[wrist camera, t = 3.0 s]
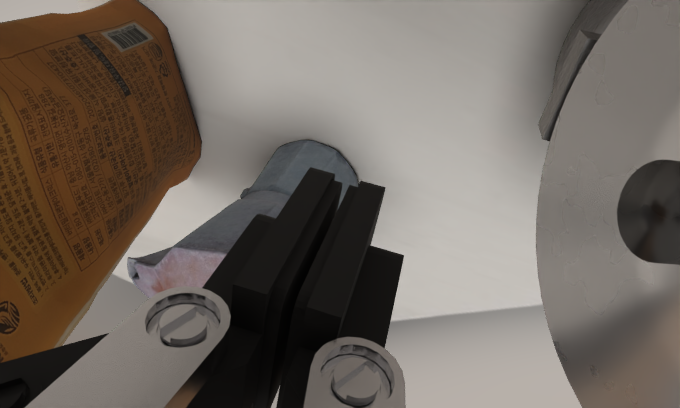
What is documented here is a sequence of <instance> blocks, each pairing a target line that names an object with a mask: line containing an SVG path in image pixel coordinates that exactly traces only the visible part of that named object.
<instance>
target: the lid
mask: <svg viewBox="0 0 680 408" xmlns="http://www.w3.org/2000/svg"><path fill="white" fill-rule="evenodd" d="M536 254H537V267H538V277H539V284H540V290H541V297H542V302H543V306H544V311H545V315H546V319H547V323H548V327H549V330H550V333H551V336H552V340H553V343H554V346H555V349H556V352H557V354H558V357H559V359H560V362H561V364H562V367H563V369H564V371H565V374H566V376H567V379H568V381H569V383H570V385H571V386H572V389H573V390H574V392H575V394H576V396H577V398H578V400H579V402H580V404H581V406H582V408H680V0H628V1H627V3H626V4H625V5H624V6H623V7H622V9H621V10H620V11H619V12H618V13H617V15H616V16H615V17H614V18H613V20H612V21H611V23H610V24H609V25H608V27H607V28H606V30H605V31H604V32H603V34H602V35H601V37H600V38H599V39H598V41H597V42H596V44H595V45H594V47H593V49H592V50H591V52H590V54H589V55H588V57H587V59H586V60H585V62H584V64H583V65H582V67H581V69H580V70H579V72H578V74H577V76H576V78H575V80H574V82H573V84H572V86H571V88H570V90H569V92H568V94H567V97H566V99H565V101H564V104H563V106H562V109H561V111H560V114H559V116H558V119H557V121H556V124H555V127H554V130H553V134H552V137H551V140H550V143H549V146H548V150H547V154H546V158H545V163H544V167H543V171H542V177H541V183H540V189H539V196H538V206H537V219H536Z"/></svg>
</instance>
